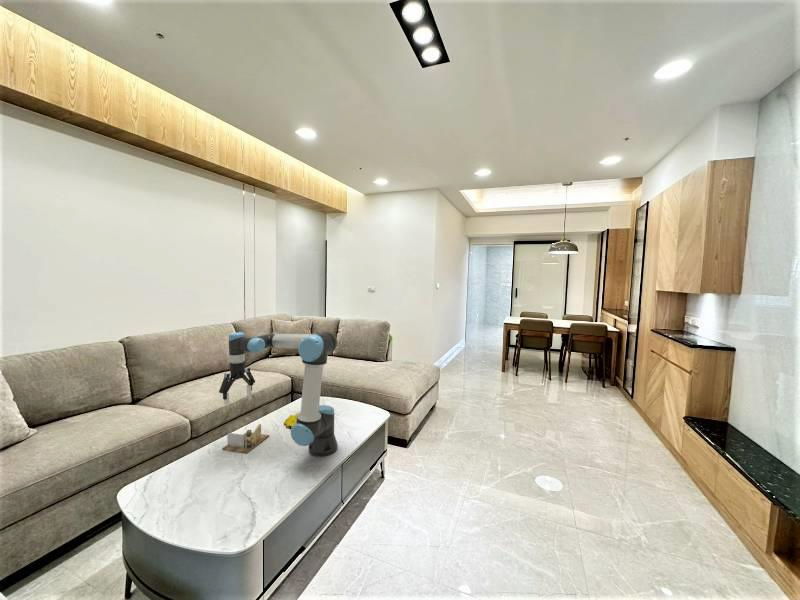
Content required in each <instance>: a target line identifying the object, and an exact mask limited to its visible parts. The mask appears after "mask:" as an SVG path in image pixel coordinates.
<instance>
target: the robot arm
mask: <svg viewBox="0 0 800 600" xmlns="http://www.w3.org/2000/svg"><path fill="white" fill-rule="evenodd" d="M227 343H228V357H229V358H228V359H229V365H228V366H229V373H224V375H223V380H222V382H221V385H220V387H219V390H218V393H220V394H222V399H223V404H224V406H226V407H229V406H230V393H229V390H230V389H231V387H232V386H233V384H234V382H236V381H238V380H241V379H242V380H243V381H244V382H245V383H246V398H247V397H248V398H252V391H253V386H254V384H255V383H256V380H255V378H254V375H252V374H253V373H252V372H251V368H250V367H246V362H245V360H246V353H253V354H256V353H261V352H263V351H264V350H266V349H269V348H271V349H273V348H275V349H277V348H278V349H280V348H281V349H283V348H284V349H298V355H299V356H300V358H301V362H302V364H303V365H304V371H303V382H302V392H301V404H300V411H299V412H298V414H297V420H296V424H295V425H293V427H292V428H291V427H290V428H291V429H290V437H291V439H292V440H293V442H294V443H295V444H297V445H298V446H300V447H307V446H308V453H309V454H310V455H312V456H314V457H326V456H330V455H333V454H334V453H335V452H337V450H338V448H339V447H338V441H337V438H336V436H335V409H334V407H332V406H331V405H326V404H325V405H324V404H320V401H321V390H322V382H323V373H324V371H323V370H324V366H325V365H326V364H327V363H328V355H330V354H332V353H334V352H335V351H336V349H337V348H338V344H339V343H338V339H337V337H336V335H335V334H334V333H333V332H331V331H320V332H319V331H318V332H315V333H312V334H311V333H310V334H309V333H308V334H307V333H277V332H272V333H271V332H270V333H267V334H263V335H258V336H253V337H249V336H248V337H247V336H245V333H244V332H242V331H241V332H231V333H229V335H228V342H227Z"/></svg>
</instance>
